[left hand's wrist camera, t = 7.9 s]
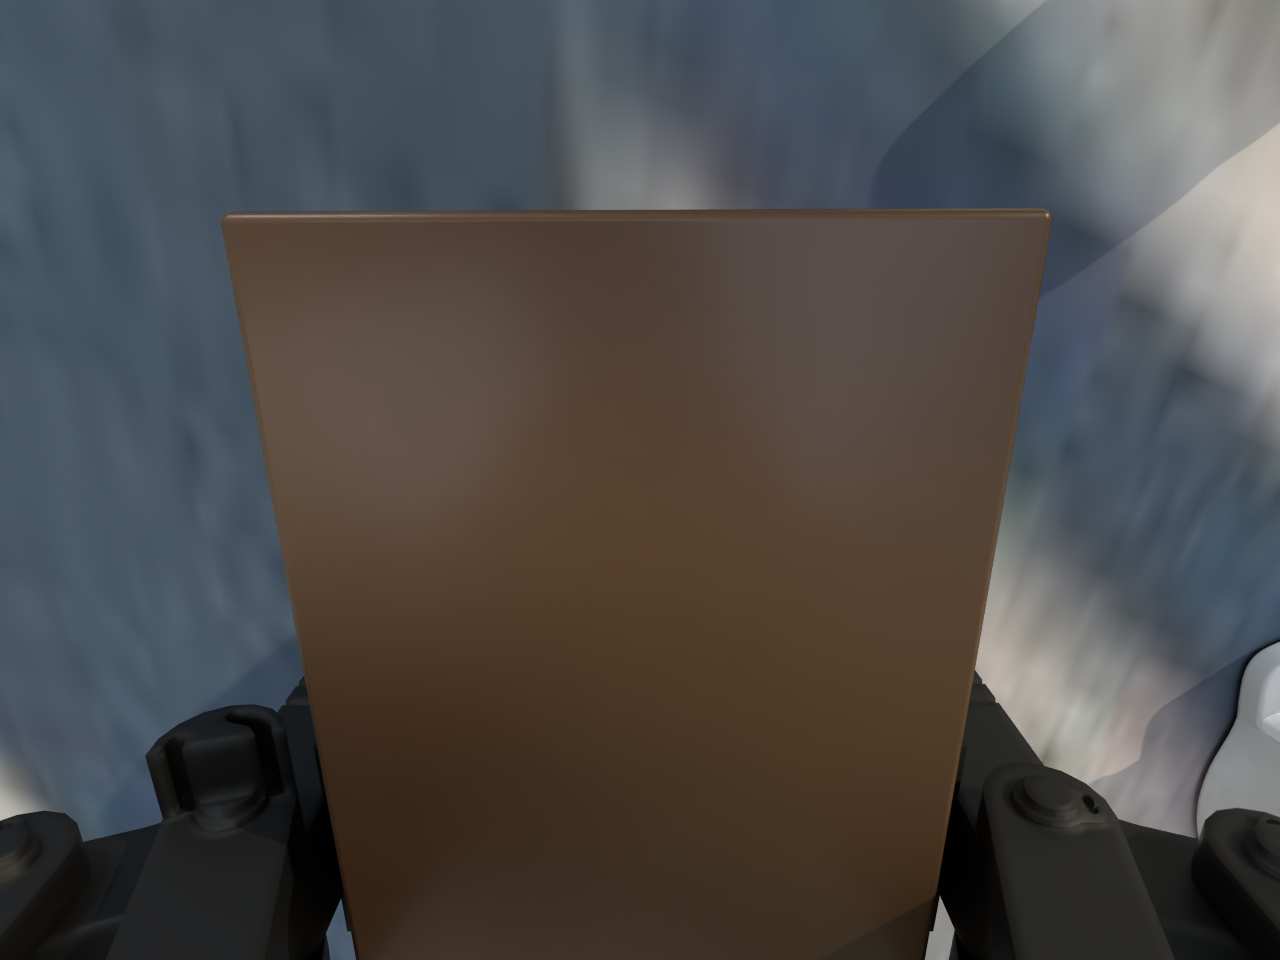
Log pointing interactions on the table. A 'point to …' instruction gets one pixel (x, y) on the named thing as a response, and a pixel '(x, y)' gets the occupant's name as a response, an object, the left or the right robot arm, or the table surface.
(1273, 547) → the table surface
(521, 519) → the post
